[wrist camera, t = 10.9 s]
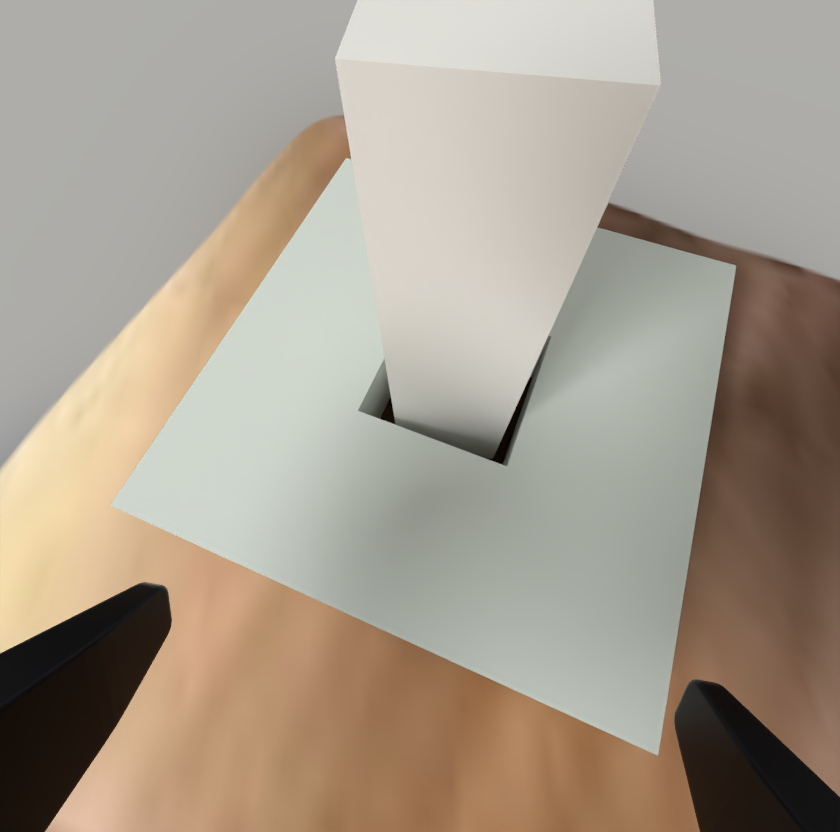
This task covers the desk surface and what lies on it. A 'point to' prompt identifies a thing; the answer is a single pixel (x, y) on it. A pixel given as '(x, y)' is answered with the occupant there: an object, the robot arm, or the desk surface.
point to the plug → (484, 183)
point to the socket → (464, 471)
